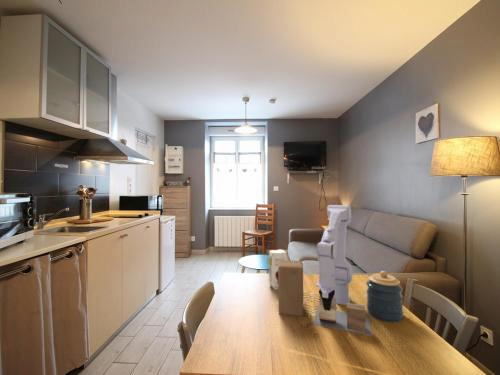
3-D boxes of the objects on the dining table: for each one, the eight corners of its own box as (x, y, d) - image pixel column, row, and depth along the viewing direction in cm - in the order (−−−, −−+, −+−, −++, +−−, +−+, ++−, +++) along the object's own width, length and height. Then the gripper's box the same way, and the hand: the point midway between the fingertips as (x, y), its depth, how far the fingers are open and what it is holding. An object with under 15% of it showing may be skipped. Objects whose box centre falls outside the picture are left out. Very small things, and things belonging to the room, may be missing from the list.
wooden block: (303, 317, 95) (303, 267, 95) (278, 315, 97) (278, 266, 97) (303, 306, 105) (302, 260, 105) (280, 304, 107) (279, 259, 107)
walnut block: (347, 324, 90) (346, 302, 90) (364, 327, 87) (364, 305, 88) (347, 329, 86) (346, 307, 86) (365, 333, 84) (365, 310, 84)
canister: (397, 308, 102) (396, 267, 102) (408, 325, 89) (407, 278, 90) (364, 305, 105) (363, 265, 106) (370, 320, 93) (369, 275, 93)
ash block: (319, 318, 94) (320, 296, 97) (335, 321, 91) (336, 299, 95) (318, 318, 90) (319, 295, 94) (335, 321, 88) (335, 298, 92)
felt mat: (317, 308, 103) (317, 307, 103) (369, 317, 95) (369, 316, 95) (312, 325, 90) (312, 324, 90) (372, 337, 82) (372, 336, 82)
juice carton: (267, 285, 128) (267, 249, 129) (282, 283, 131) (282, 248, 131) (273, 290, 121) (273, 253, 121) (288, 288, 124) (288, 252, 124)
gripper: (318, 267, 99) (318, 300, 99) (313, 278, 86) (313, 316, 86) (336, 269, 97) (336, 303, 96) (334, 280, 83) (334, 320, 83)
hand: (327, 309), depth 91 cm, fingers closed, pressing on ash block
